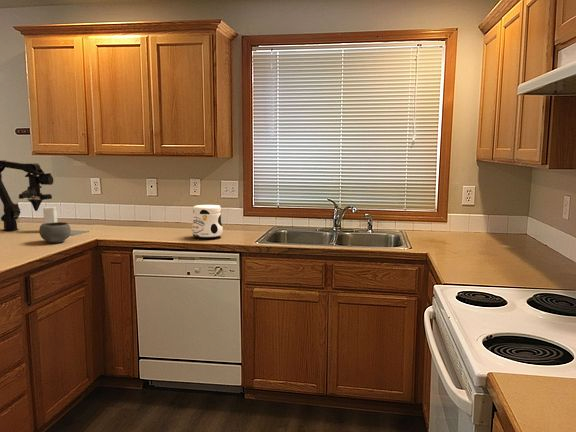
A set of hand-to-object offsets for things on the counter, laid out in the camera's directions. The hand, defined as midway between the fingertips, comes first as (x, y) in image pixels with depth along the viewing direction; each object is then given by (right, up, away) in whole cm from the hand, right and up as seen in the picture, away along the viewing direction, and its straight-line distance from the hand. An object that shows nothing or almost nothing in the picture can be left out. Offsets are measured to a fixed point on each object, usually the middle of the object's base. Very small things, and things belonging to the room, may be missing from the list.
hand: (36, 210), depth 295 cm
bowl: (+27, -17, -32) cm, 45 cm away
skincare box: (+9, -13, 0) cm, 16 cm away
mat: (+22, -13, -3) cm, 25 cm away
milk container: (+104, -16, -12) cm, 106 cm away
